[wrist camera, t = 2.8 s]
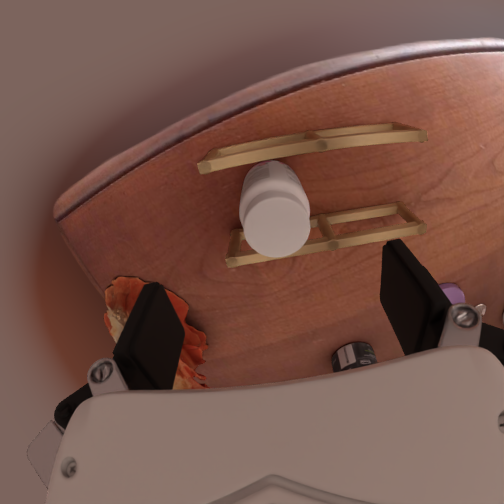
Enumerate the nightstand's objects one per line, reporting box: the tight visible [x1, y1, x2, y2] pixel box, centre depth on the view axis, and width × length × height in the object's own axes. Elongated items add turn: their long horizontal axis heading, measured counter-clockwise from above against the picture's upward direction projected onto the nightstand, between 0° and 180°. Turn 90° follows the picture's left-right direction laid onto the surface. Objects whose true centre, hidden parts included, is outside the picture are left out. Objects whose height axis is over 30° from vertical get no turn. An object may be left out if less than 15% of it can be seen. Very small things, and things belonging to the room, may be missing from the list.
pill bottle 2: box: [332, 343, 377, 373], centre depth 30 cm, size 6×6×11 cm
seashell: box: [104, 277, 209, 390], centre depth 29 cm, size 17×11×15 cm
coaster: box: [439, 283, 465, 304], centre depth 31 cm, size 9×9×1 cm
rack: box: [197, 122, 428, 268], centre depth 21 cm, size 17×9×5 cm, turn 102°
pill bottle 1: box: [239, 160, 310, 258], centre depth 20 cm, size 5×5×8 cm
